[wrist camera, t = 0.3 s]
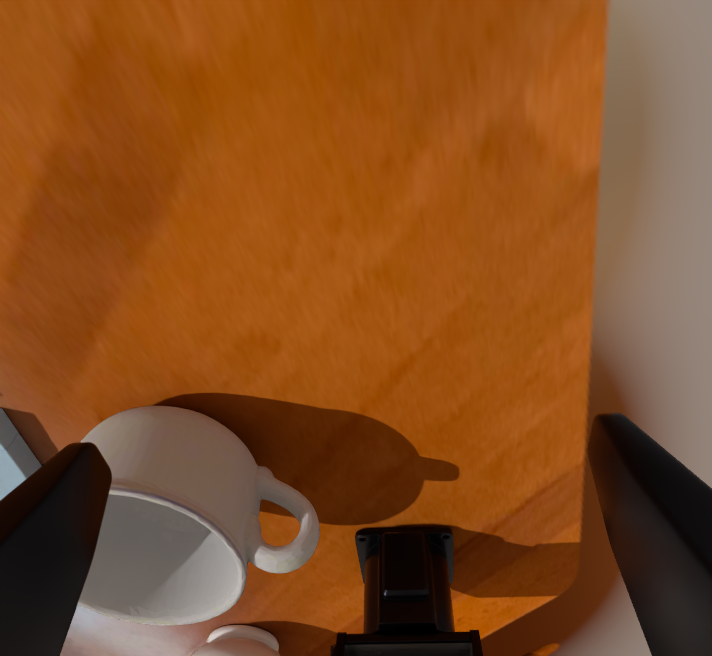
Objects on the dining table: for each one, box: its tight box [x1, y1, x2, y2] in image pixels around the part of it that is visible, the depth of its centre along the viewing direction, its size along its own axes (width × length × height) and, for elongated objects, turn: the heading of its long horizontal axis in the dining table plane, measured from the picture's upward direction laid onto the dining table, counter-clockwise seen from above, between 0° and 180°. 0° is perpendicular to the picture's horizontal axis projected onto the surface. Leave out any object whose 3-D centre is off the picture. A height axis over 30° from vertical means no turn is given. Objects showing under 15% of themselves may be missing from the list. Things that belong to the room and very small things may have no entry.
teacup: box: [78, 406, 320, 626], centre depth 29 cm, size 14×11×8 cm
